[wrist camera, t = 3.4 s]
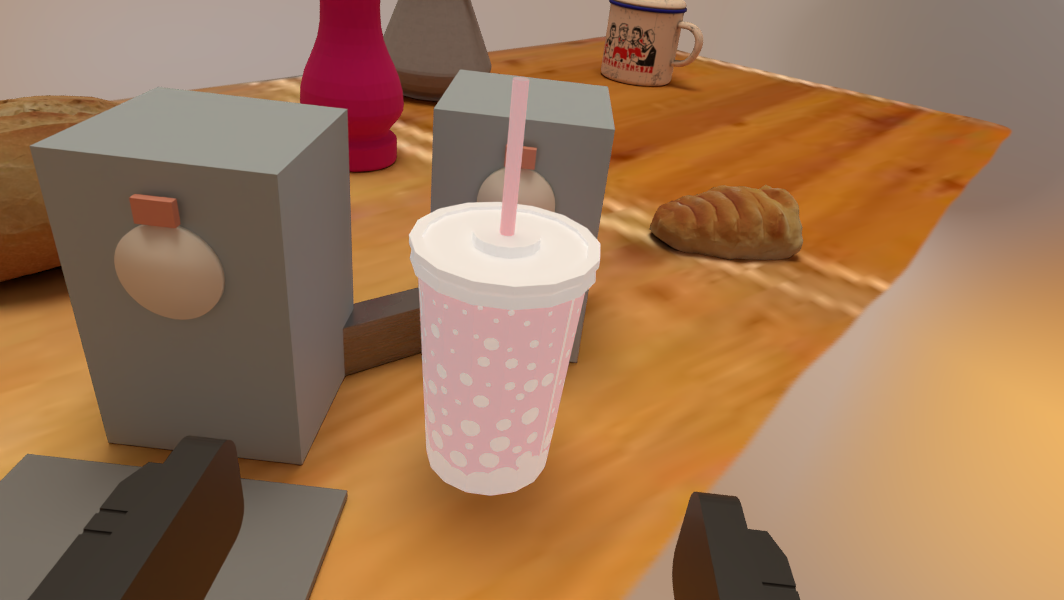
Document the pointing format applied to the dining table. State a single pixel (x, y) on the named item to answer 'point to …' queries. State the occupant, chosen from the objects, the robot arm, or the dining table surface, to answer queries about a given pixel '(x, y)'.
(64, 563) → the robot arm
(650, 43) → the teacup with lid
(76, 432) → the dining table surface
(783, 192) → the pastry
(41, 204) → the bread roll
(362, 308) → the track rail
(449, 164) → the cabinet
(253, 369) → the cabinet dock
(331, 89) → the pepper mill
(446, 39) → the coffee pot
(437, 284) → the beverage cup
